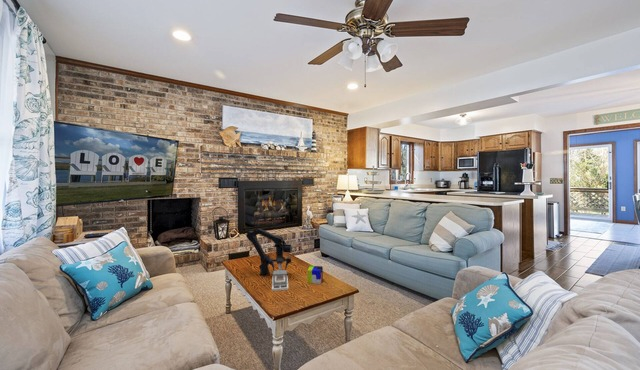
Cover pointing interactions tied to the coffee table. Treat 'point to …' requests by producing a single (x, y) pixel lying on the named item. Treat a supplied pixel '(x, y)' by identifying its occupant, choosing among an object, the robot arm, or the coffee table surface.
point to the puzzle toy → (315, 274)
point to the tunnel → (278, 273)
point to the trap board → (280, 284)
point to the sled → (280, 275)
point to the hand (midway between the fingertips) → (279, 270)
